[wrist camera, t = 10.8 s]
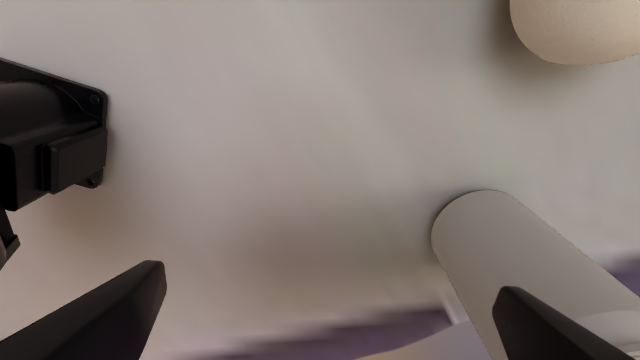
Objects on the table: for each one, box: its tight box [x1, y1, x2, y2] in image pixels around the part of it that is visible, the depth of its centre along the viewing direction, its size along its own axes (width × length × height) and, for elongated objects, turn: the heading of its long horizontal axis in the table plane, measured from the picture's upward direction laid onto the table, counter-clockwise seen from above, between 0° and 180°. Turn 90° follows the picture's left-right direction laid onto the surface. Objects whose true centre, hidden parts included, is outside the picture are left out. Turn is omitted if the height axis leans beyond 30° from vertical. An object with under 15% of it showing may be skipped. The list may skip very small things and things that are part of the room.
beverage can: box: [431, 190, 640, 360], centre depth 17 cm, size 6×6×12 cm
